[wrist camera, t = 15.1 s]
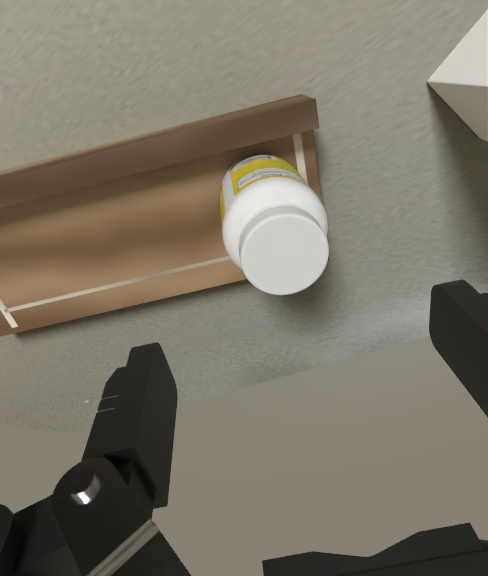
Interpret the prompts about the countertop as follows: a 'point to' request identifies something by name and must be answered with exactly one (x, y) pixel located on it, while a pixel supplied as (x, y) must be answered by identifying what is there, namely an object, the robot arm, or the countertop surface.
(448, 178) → the countertop surface
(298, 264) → the supplement bottle
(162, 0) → the countertop surface
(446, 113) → the countertop surface
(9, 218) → the board
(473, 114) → the milk
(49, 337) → the countertop surface
